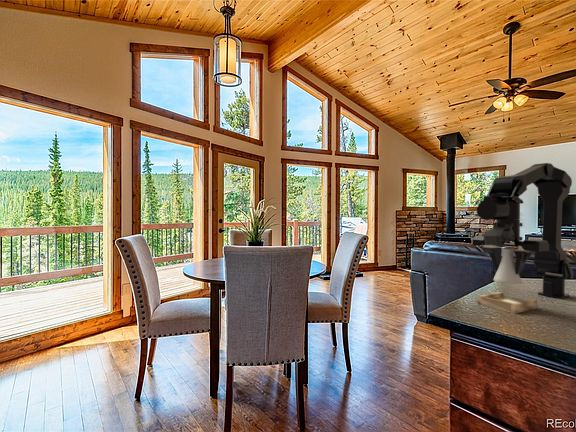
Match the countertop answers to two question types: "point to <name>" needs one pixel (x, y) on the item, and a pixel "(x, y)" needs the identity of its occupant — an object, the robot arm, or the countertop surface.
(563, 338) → the countertop surface
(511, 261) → the flask
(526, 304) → the tray
